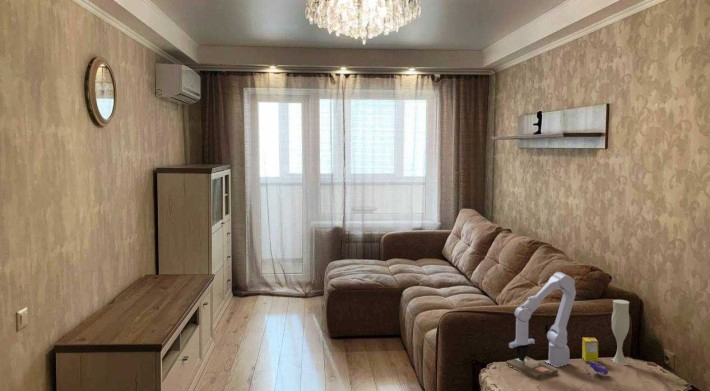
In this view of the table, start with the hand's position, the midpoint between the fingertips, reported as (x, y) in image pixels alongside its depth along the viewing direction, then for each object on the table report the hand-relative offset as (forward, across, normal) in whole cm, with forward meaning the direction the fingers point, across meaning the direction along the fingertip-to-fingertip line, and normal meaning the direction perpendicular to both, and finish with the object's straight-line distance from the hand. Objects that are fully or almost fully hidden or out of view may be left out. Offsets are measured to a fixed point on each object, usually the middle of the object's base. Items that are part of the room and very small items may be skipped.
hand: (521, 360), depth 272 cm
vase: (+3, -44, +20) cm, 48 cm away
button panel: (+2, 0, +6) cm, 7 cm away
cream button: (+1, 0, +6) cm, 7 cm away
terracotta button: (+2, 0, +13) cm, 13 cm away
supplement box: (+3, -33, +12) cm, 35 cm away
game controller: (+3, -21, +26) cm, 34 cm away
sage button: (+2, 0, 0) cm, 2 cm away
